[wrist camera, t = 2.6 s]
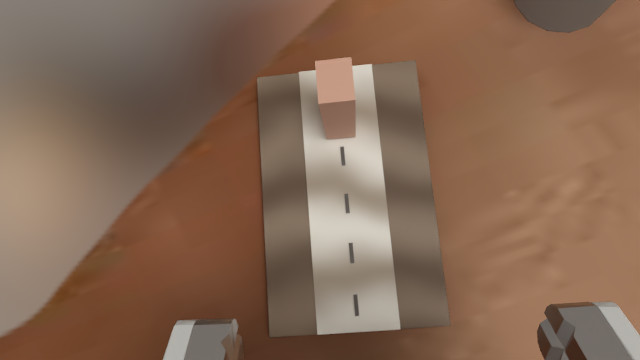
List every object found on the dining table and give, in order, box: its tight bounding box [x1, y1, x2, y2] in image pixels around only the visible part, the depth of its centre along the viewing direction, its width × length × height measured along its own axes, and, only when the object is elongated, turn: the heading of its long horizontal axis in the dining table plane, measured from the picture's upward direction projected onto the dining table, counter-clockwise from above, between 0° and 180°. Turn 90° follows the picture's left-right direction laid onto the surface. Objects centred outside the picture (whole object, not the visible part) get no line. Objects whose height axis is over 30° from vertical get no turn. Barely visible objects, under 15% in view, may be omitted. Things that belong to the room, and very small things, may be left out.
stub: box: [315, 57, 356, 139], centre depth 30 cm, size 3×2×8 cm
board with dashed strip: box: [257, 60, 451, 337], centre depth 34 cm, size 22×14×2 cm, turn 4°
